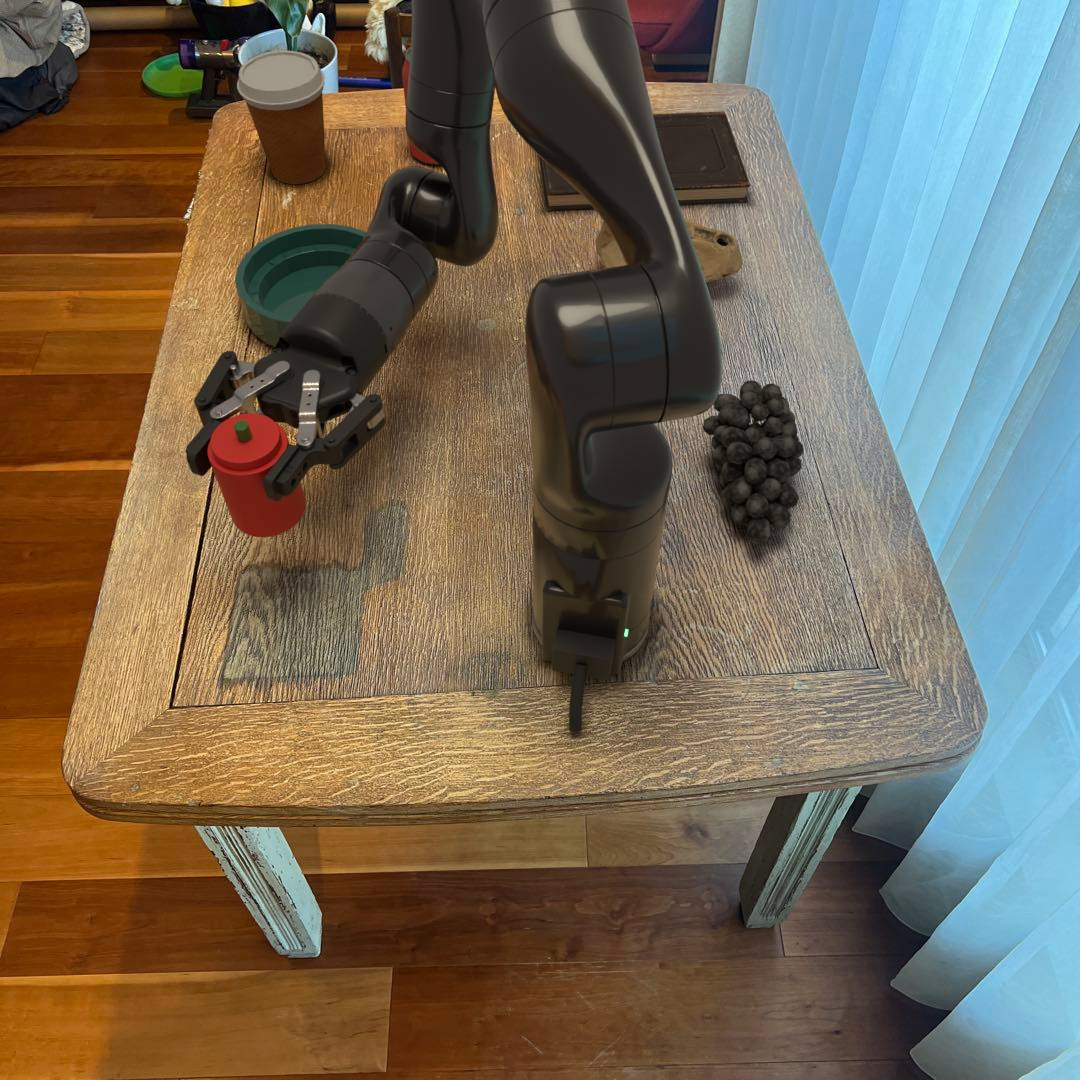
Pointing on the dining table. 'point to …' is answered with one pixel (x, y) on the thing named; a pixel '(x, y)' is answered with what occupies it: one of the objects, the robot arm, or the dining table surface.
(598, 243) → the oil lamp
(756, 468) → the fruit
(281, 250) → the bowl
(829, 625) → the dining table surface
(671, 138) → the hardcover book
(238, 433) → the red cylinder
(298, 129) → the disposable coffee cup
